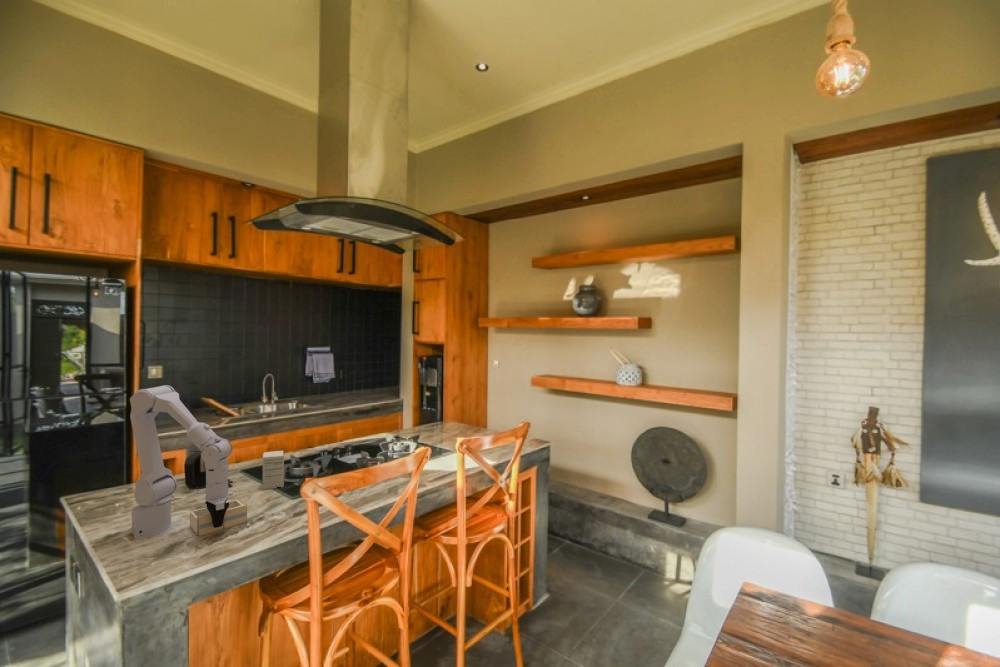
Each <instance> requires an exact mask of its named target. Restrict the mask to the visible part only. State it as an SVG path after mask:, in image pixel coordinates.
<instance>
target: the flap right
mask: <svg viewBox="0 0 1000 667" xmlns="http://www.w3.org/2000/svg"><path fill="white" fill-rule="evenodd" d="M246 522H248V504H247V503H246V504H243V505H241V506H237V507H233V508H230V509H227V510H226V513H225V516H224V520H223V529H227V528H231V527H233V526H237V525H241V524H244V523H246Z"/></svg>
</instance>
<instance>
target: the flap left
mask: <svg viewBox="0 0 1000 667" xmlns="http://www.w3.org/2000/svg"><path fill="white" fill-rule="evenodd" d="M223 529H224V528H223V524H222V526H221V527H217V528H214V527H213V523H212V518H211V514H207V515H204V516H200V517H197V533H196V537H200V536H203V535H207V534H209V533H212V532H216V531H220V530H223Z"/></svg>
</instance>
